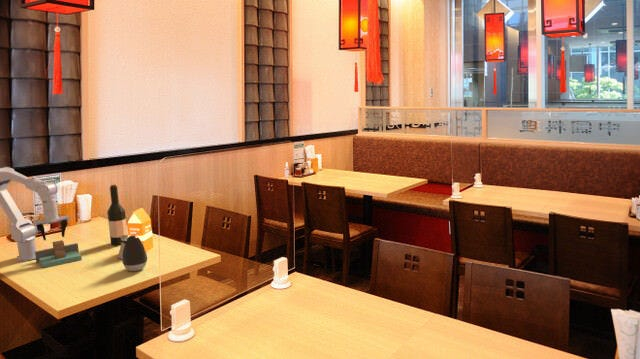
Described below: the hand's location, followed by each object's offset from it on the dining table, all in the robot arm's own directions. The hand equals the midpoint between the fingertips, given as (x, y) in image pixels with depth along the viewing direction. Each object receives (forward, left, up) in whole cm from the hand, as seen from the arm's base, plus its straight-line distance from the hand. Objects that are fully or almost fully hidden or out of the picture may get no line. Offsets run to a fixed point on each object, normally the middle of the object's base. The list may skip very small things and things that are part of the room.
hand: (54, 238), depth 235 cm
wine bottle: (-6, +30, -11) cm, 32 cm away
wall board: (+2, +1, -10) cm, 11 cm away
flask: (+18, +26, -11) cm, 33 cm away
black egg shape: (+38, +24, -11) cm, 46 cm away
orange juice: (+13, +35, -11) cm, 39 cm away
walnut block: (+3, +1, -8) cm, 9 cm away
